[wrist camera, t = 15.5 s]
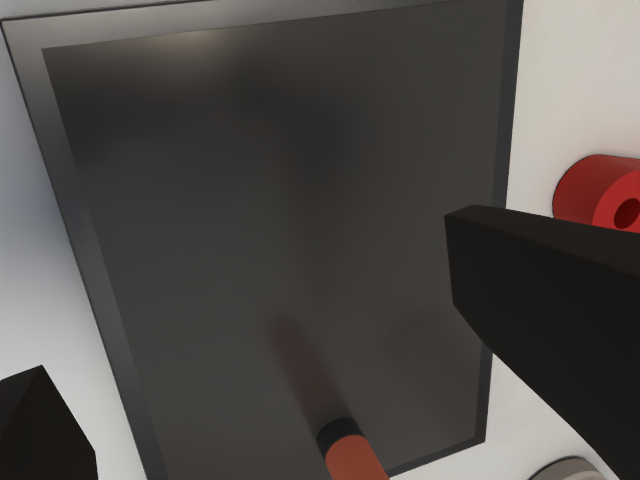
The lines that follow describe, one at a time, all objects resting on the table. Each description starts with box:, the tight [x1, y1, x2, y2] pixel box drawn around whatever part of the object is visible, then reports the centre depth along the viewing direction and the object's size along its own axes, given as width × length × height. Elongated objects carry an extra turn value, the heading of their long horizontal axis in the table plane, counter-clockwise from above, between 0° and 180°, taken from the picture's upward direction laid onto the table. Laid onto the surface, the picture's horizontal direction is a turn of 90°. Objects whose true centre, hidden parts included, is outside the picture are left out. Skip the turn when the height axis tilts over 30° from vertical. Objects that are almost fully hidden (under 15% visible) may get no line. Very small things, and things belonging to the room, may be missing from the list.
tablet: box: [0, 0, 524, 480], centre depth 21 cm, size 16×22×1 cm
